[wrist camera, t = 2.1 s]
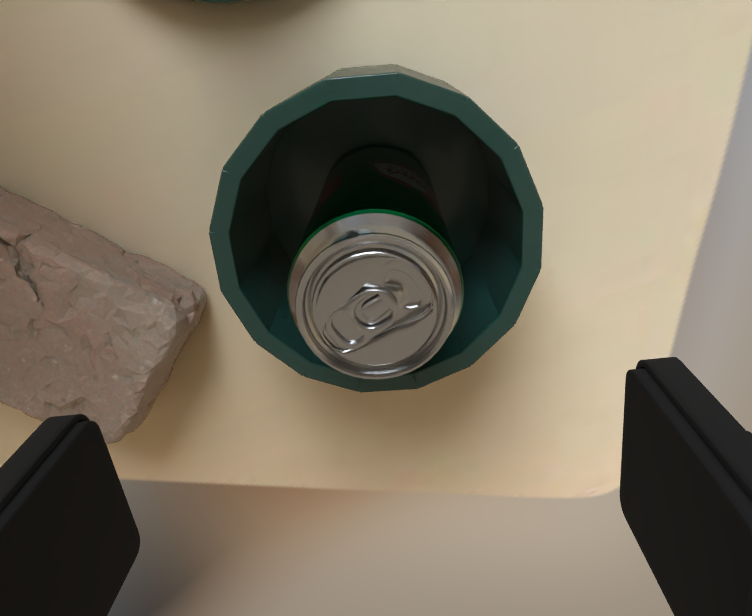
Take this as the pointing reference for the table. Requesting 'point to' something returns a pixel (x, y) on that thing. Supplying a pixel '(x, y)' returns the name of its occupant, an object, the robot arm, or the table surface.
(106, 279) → the brick
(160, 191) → the table surface
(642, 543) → the robot arm
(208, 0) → the pot lid
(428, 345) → the soda can
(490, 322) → the pot
